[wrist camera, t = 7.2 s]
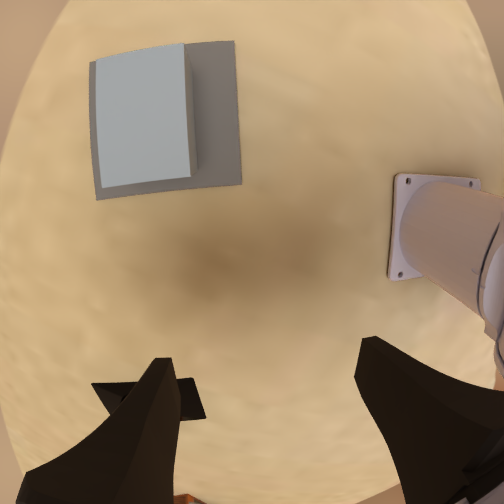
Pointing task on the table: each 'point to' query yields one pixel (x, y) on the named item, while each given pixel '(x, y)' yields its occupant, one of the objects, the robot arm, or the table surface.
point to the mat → (206, 125)
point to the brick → (145, 116)
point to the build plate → (118, 391)
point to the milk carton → (186, 499)
